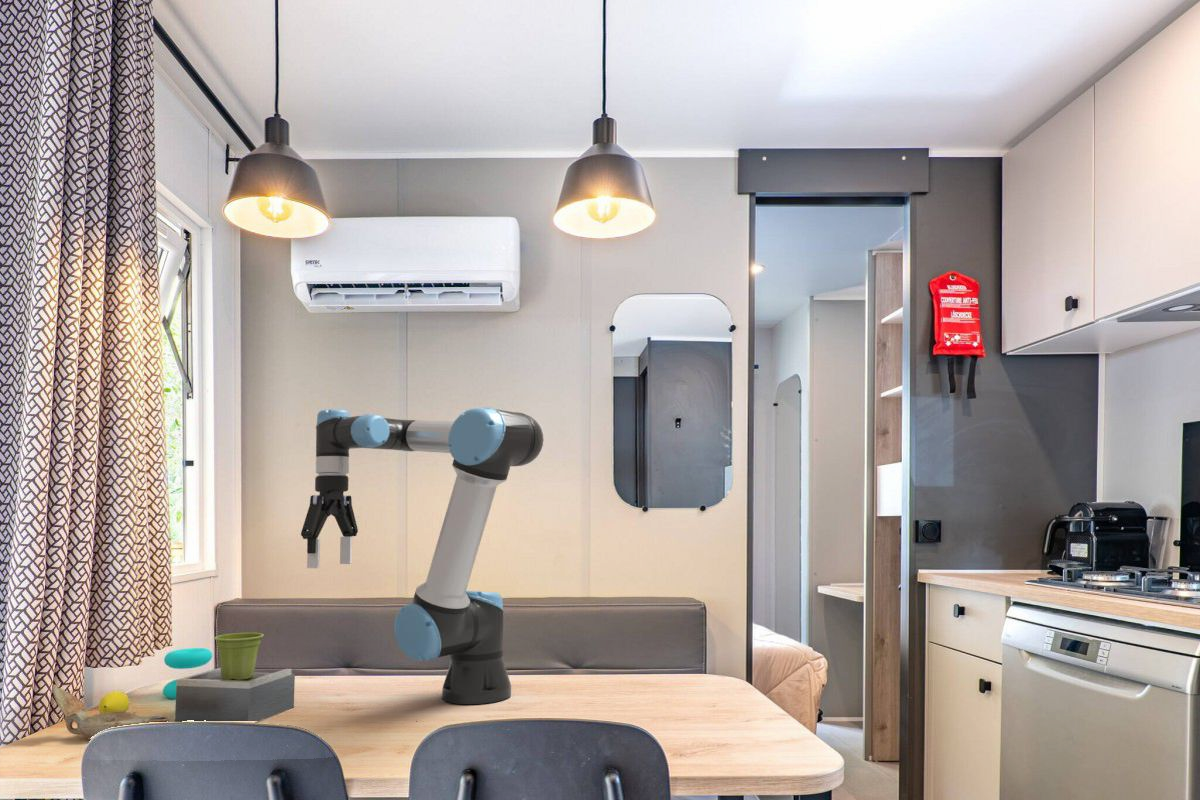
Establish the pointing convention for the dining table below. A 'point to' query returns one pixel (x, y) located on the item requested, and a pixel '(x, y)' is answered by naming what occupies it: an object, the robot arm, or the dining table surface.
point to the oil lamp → (95, 716)
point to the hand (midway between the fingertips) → (330, 566)
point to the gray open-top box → (234, 696)
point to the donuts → (184, 664)
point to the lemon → (114, 702)
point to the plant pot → (238, 654)
